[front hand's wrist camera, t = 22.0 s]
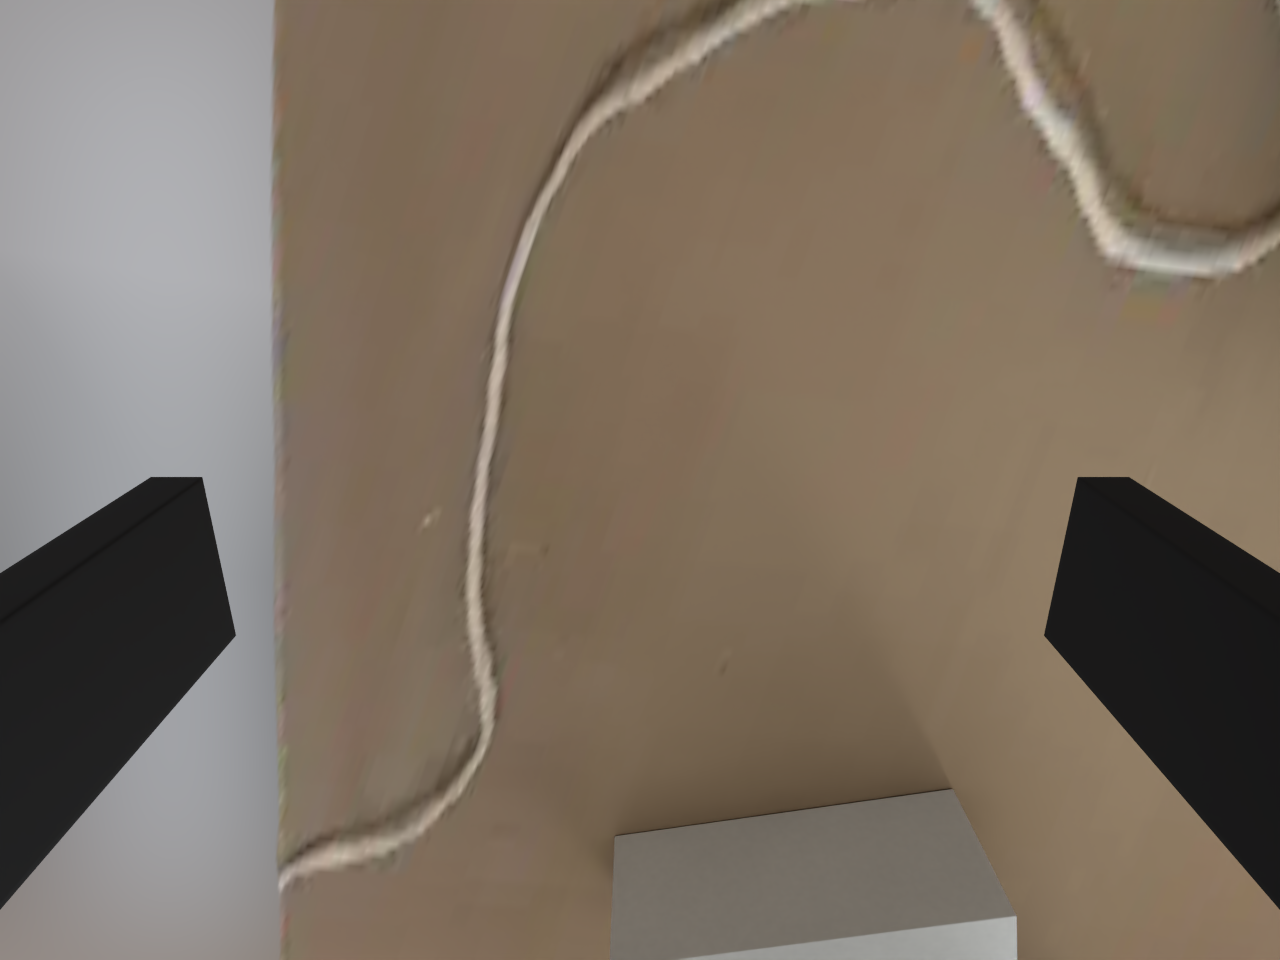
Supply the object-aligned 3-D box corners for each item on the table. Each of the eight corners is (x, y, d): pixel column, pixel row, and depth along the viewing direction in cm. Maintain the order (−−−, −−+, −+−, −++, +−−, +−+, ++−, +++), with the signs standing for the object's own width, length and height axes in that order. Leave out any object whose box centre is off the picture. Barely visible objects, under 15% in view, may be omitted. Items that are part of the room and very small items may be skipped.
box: (953, 788, 55) (1016, 915, 46) (956, 858, 57) (1018, 993, 48) (614, 835, 57) (609, 968, 47) (631, 902, 59) (629, 1041, 50)
